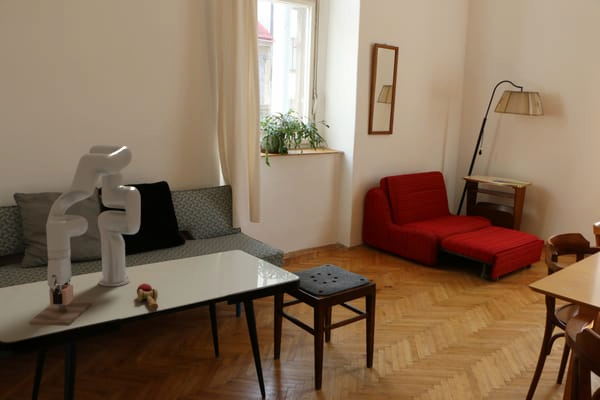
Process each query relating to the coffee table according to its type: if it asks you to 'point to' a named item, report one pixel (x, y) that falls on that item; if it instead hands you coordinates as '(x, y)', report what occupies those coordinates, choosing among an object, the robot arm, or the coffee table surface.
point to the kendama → (148, 295)
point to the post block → (61, 313)
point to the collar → (64, 294)
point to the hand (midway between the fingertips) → (61, 300)
